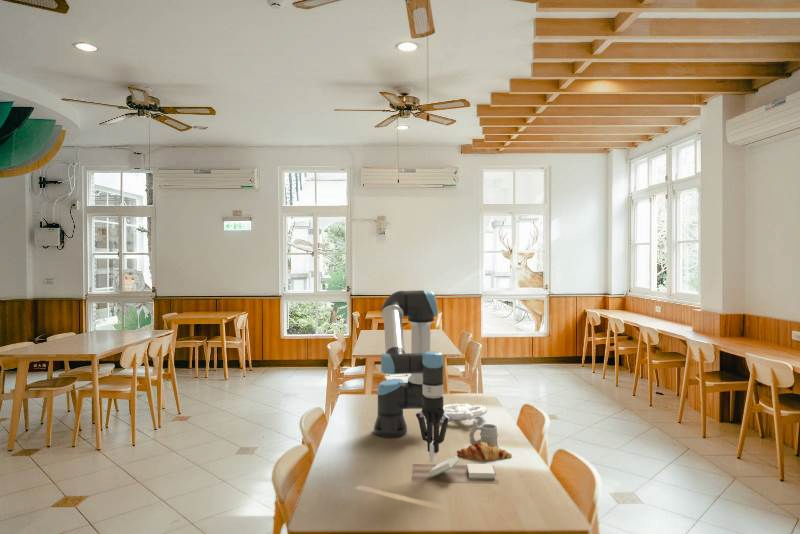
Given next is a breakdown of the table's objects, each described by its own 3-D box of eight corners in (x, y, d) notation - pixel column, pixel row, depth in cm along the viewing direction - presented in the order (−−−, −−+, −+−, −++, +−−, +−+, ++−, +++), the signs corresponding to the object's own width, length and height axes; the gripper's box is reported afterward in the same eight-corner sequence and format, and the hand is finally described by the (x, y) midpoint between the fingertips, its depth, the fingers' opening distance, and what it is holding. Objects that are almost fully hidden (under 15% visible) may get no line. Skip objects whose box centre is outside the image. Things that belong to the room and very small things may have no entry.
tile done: (467, 469, 181) (467, 463, 181) (491, 469, 180) (491, 464, 180) (468, 478, 173) (468, 472, 173) (494, 479, 172) (494, 473, 172)
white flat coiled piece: (421, 421, 245) (420, 408, 245) (450, 412, 262) (449, 399, 263) (468, 426, 226) (466, 411, 226) (495, 416, 243) (494, 402, 244)
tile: (437, 464, 181) (456, 455, 177) (440, 469, 181) (459, 460, 177) (428, 472, 174) (448, 463, 170) (430, 477, 174) (451, 468, 170)
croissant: (510, 466, 195) (509, 444, 199) (514, 463, 186) (513, 440, 190) (456, 463, 196) (456, 442, 200) (457, 460, 187) (457, 438, 191)
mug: (499, 454, 198) (499, 424, 198) (469, 453, 199) (469, 423, 199) (497, 447, 205) (497, 418, 205) (469, 446, 207) (468, 417, 207)
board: (412, 467, 185) (412, 464, 185) (493, 468, 184) (493, 465, 184) (411, 485, 170) (411, 481, 170) (499, 487, 169) (499, 483, 169)
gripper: (412, 395, 177) (412, 461, 177) (445, 400, 171) (445, 468, 171) (421, 391, 184) (421, 454, 184) (453, 395, 177) (454, 460, 177)
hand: (433, 461), depth 177 cm, fingers closed
